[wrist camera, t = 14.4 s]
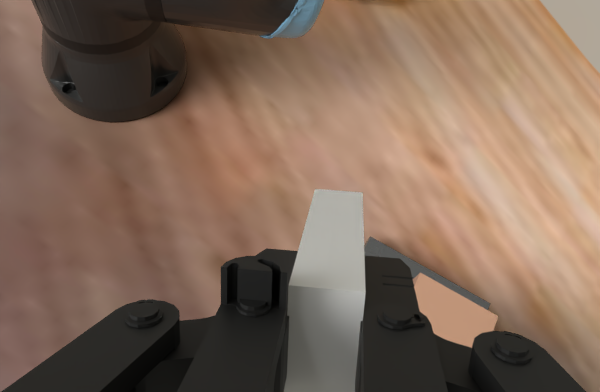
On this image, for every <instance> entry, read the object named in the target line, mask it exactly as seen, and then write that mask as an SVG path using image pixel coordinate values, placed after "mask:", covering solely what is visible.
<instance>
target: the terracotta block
mask: <svg viewBox="0 0 600 392" xmlns="http://www.w3.org/2000/svg"><path fill="white" fill-rule="evenodd" d="M412 280H413V284H414V288H415V292H416V297H417V301H418V306H419V310H420V312H421V313H422V314H424V315H425V316H427V318H428V319H429V321H430V323H431V325H432V329H433V333H434V334H436V335H438V336H439V337H441V338H443V339H446V340H448V341H451V342H454V343H457V344H461V345H464V346H468V347H471V348H472V345H473V341H474V338H475V337H476V336H478V335H479V334H481V333H484V332H490V331H493V330H494V327H495V324H496V322H497V319H498V316H497V315H495V314H494V313H492V312H490V311H488V310H486V309H485V308H483V307H481V306H479V305H478V304H476V303H474V302H472V301H470V300H469V299H467V298H465V297H463V296H461V295H460V294H458V293H456V292H454V291H453V290H451V289H449V288H447V287H445V286H444V285H442V284H440V283H438V282H437V281H435V280H433V279H431V278H429V277H428V276H426V275H424V274H422V273H419V274H418V275H417V276H416V277H415V278H414V279H412Z"/></svg>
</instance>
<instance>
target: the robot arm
mask: <svg viewBox="0 0 600 392" xmlns="http://www.w3.org/2000/svg"><path fill="white" fill-rule="evenodd" d="M32 2H33V5H34V7H35V9H36V11H37V14H38V16H39V18H40V20H41V23H42V25H43V30H42V66H43V70H44V74H45V76H46V78H47V80H48V83H49V85H50V87H51V89H52V91H53V92H54V94H55V96H56V97H57V98H58V99H59V100H60V101H61V102H62V103H63V104H64V105H65V106H66V107H67V108H69V109H70V110H72V111H74V112H75V113H77V114H79V115H82V116H84V117H87V118H90V119H94V120H99V121H107V122H122V121H130V120H135V119H139V118H142V117H145V116H148V115H150V114H152V113H154V112H156V111H158V110H160V109H161V108H163V107H164V106H166V105H167V104H168V103H169V102H170V101H171V100H172V99H173V98H174V97H175V96H176V95H177V93H178V92H179V91H180V89H181V87H182V85H183V83H184V80H185V77H186V71H187V63H186V53H185V47H184V43H183V40H182V38H181V36H180V34H179V32H178V30H177V29H176V27H175V25H174V24H180V25H187V26H195V27H202V28H210V29H217V30H223V31H230V32H236V33H243V34H250V35H256V36H260V37H262V38H273V37H282V38H298V37H301V36H303V35H304V34H306V33H307V32H308V31H309V30H310V29H311V27H312V26H313V24H314V23H315V21H316V19H317V17H318V15H319V12H320V10H321V7H322V5H323V2H324V0H32ZM2 392H586V391H585V390H584V389H583V388H582V387H581V386H580V385H579V384H578V383H577V382H576V381H575V380H574V379H573V378H572V377H571V376H570V375H569V374H568V373H567V372H566V371H565V370H564V369H563V368H562V367H561V366H560V365H559V364H558V363H557V362H556V361H555V360H554V359H553V358H552V357H551V356H550V355H549V354H548V353H547V351H546V350H544V349H543V348H542V347H540V346H539V345H538V344H537V343H535V342H533V341H531V340H529V339H527V338H525V337H523V336H521V335H518V334H515V333H514V334H513V333H511V332H506V331H504V332H500V331H490V332H484V333H481V334H479V335H478V336H476V337H475V338H474V341H473V345H472V348H471V347H468V346H464V345H461V344H457V343H454V342H451V341H448V340H446V339H443V338H441V337H439V336H438V335H436V334H434V333H433V329H432V325H431V323H430V321H429V319H428V318H427V316H425V315H424V314H422V313H421V312H420V310H419V306H418V301H417V297H416V292H415V288H414V284H413V280H412V275H411V270H410V267H409V266H407V265H406V264H405V263H404V262H403V261H402V260H401V259H400V258H388V257H376V256H365V255H364V223H363V192H350V191H336V190H323V189H315V192H314V195H313V199H312V203H311V206H310V210H309V213H308V217H307V221H306V224H305V228H304V231H303V235H302V239H301V242H300V246H299V249H298V251H289V250H277V249H265V250H264V251H262V252H260V253H259V254H257V255H256V256H245V257H239V258H235V259H232V260H230V261H227V262H226V263H225V264H224V265H223V266H222V267H221V305H220V307H219V309H218V311H217V313H216V315H215V316H212V317H208V318H203V319H196V320H184V321H179V310H178V309H177V308H176V307H175V306H174V305H172V304H170V303H167V302H165V301H157V300H139V301H137V302H133V303H130V304H126V305H124V306H122V307H120V308H119V309H117V310H115V311H114V312H112V313H111V314H109V315H108V316H107V317H105V318H104V319H102V320H101V321H100V322H98V323H97V324H95V325H94V326H93V327H91V328H90V329H88V330H87V331H86V332H84V333H83V334H81V335H80V336H79V337H77V338H76V339H75V340H73V341H72V342H70V343H69V344H68V345H66V346H65V347H63V348H62V349H61V350H59V351H58V352H56V353H55V354H54V355H52V356H51V357H49V358H48V359H47V360H45V361H44V362H42V363H41V364H40V365H38V366H37V367H35V368H34V369H33V370H31V371H30V372H28V373H27V374H26V375H24V376H23V377H21V378H20V379H19V380H17V381H16V382H14V383H13V384H12V385H10V386H9V387H7V388H6V389H5V390H3V391H2Z"/></svg>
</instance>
